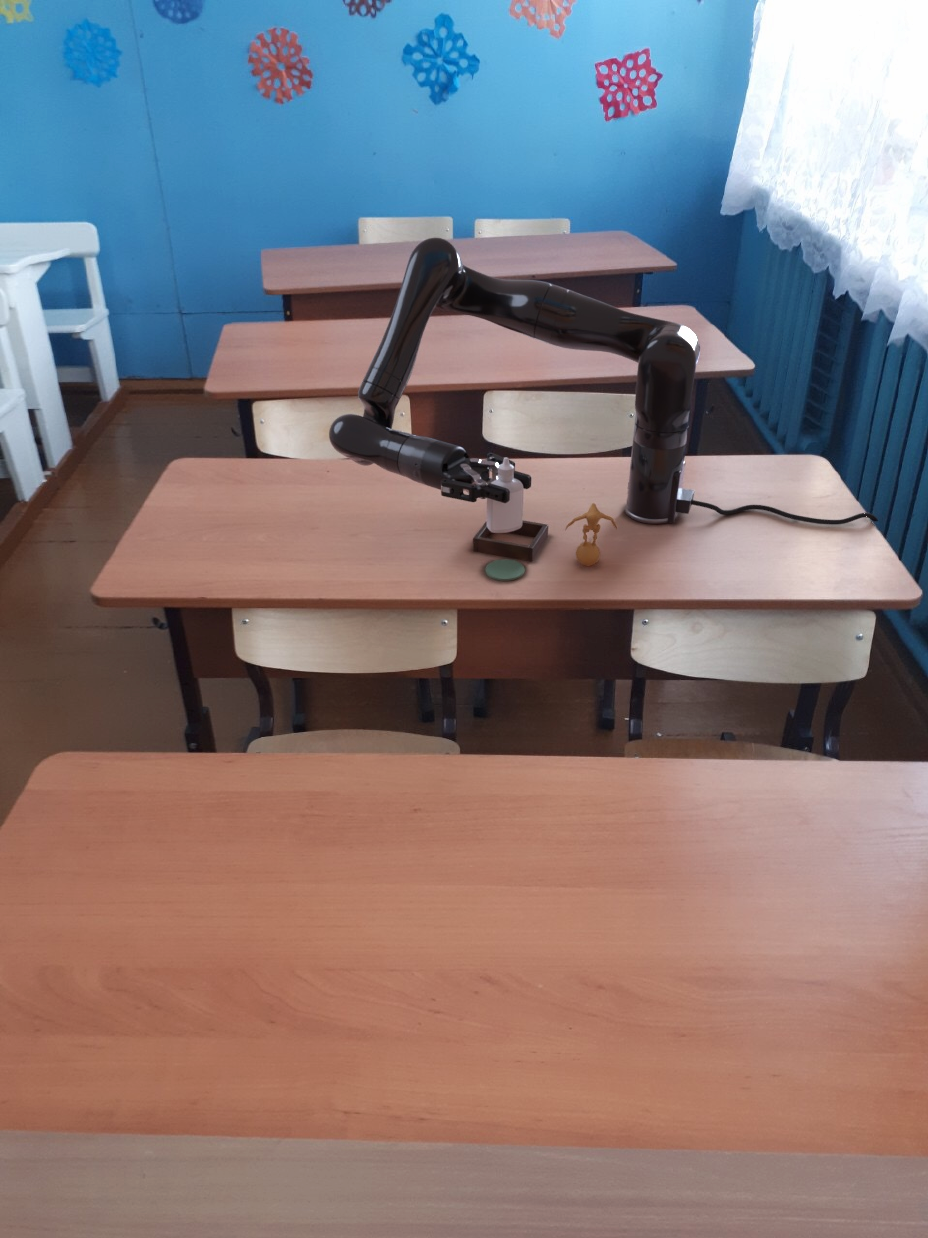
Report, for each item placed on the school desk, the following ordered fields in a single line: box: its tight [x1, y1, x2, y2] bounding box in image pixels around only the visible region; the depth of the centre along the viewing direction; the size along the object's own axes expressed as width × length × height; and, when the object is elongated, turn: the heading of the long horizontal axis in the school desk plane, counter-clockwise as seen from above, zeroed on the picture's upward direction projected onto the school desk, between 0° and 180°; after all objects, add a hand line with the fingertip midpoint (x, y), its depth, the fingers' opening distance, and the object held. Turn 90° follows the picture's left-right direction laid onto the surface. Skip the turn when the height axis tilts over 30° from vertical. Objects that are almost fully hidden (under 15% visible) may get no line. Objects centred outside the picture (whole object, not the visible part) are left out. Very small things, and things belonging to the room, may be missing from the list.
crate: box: [472, 519, 549, 562], centre depth 150 cm, size 11×9×2 cm
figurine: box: [564, 502, 618, 567], centre depth 141 cm, size 8×6×12 cm
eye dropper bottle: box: [486, 456, 524, 534], centre depth 136 cm, size 4×6×12 cm
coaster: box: [485, 558, 525, 582], centre depth 143 cm, size 6×6×1 cm
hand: (519, 489), depth 134 cm, fingers closed on eye dropper bottle, 5 cm apart
